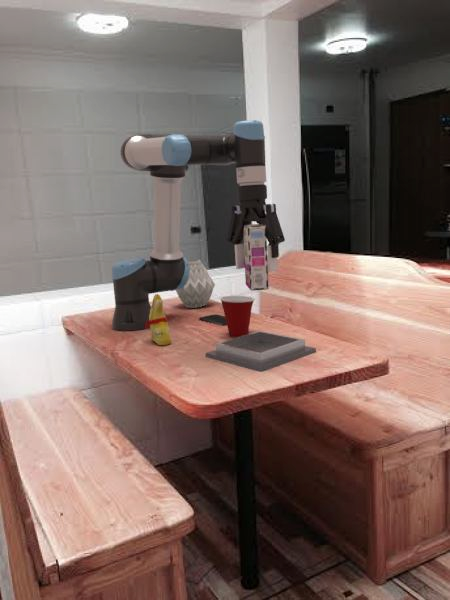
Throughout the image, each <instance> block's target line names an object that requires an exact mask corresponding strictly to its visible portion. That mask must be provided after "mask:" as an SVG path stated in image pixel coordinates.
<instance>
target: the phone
mask: <svg viewBox="0 0 450 600" xmlns="http://www.w3.org/2000/svg"><path fill="white" fill-rule="evenodd" d="M198 320H199V321H200V320H201V322H204V321H205V322H204V323H208V322H209V324H212V323H213V324H212V325H217V326H220V327H225V326H227V323H226V319H225V315H222V314H221V315H220V314H217V313H216V314H215V313H214V314H210V315H205V316H200V317H198Z"/></svg>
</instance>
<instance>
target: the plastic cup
mask: <svg viewBox="0 0 450 600" xmlns="http://www.w3.org/2000/svg"><path fill="white" fill-rule="evenodd" d="M219 299H220V301H221V302H220V303H221V305H222V309H223V314H224V316H225V319H226V323H227V331H228V335H229V337H232V338H236V337H240V336H243V335H246V334H249V330H250V323H251V315H252V308H253V304H254V301H255V300H256V298H255V297H252V296H247V295H224V296H221V297H219Z"/></svg>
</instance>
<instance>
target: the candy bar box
mask: <svg viewBox="0 0 450 600" xmlns="http://www.w3.org/2000/svg"><path fill="white" fill-rule="evenodd" d="M267 242H268V240H267V236H266V225H259V224H258V223H255V224H254V223H253V224H251V223H249V225H244V237H243V244H244V259H245V268H244V273H245V277H244V278H245V285H246V286H247V288H248V289H249V290H250V291H267V290H269V271H268V253H267V246H268V243H267Z"/></svg>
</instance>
